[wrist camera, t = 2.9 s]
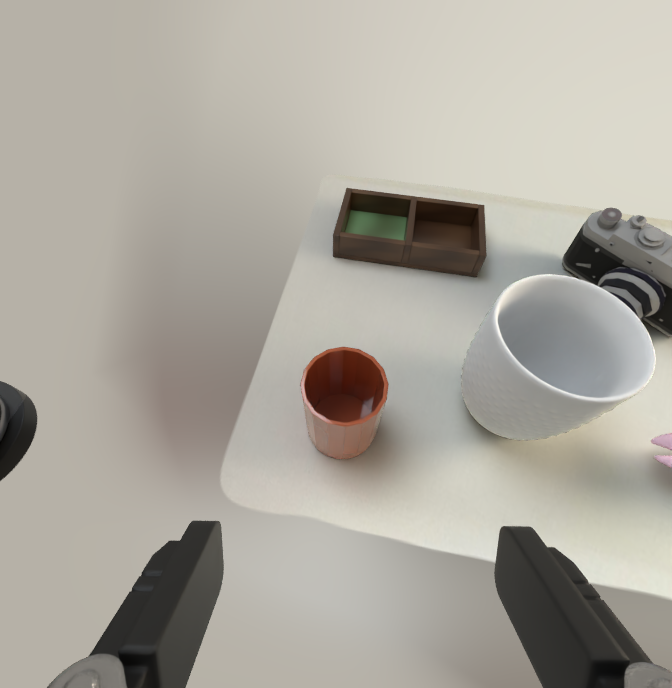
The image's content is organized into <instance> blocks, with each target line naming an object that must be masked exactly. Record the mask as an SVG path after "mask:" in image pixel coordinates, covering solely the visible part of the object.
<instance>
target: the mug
mask: <svg viewBox="0 0 672 688" xmlns="http://www.w3.org/2000/svg"><path fill="white" fill-rule="evenodd" d="M655 361H656V357H655V350H654V346H653V343H652V340H651V338H650V335H649V333H648V331H647V330H646V328H645V326H644V325H643V323H642V322H641V320H640V319H639V318H638V317H637V315H636V314H635V313H634V312H633V311H632V310H631V309H630V308H629V307H628V306H627V305H626V304H625V303H623V302H622V301H621V300H619V299H618V298H617V297H615V296H614V295H612V294H611V293H609V292H607V291H606V290H604V289H602V288H600V287H598V286H596V285H594V284H592V283H589V282H586V281H584V280H581V279H577V278H573V277H569V276H563V275H554V274H544V275H535V276H529V277H526V278H523V279H520V280H518V281H516V282H514V283H512V284H511V285H509V286H508V287H507V288H506V289H505V290H504V291H503V292H502V293H501V294H500V295H499V297H498V298H497V300H496V301H495V303H494V304H493V306H492V308H491V309H490V311H489V312H488V313H487V314H486V317H485V319H484V321H483V322H482V323H481V325H480V327H479V329H478V331H477V332H476V334H475V336H474V339H473V340H472V342H471V344H470V347H469V349H468V350H467V354H466V357H465V359H464V365H463V367H462V375H461V379H462V380H461V386H462V394H463V399H464V401H465V405H466V407H467V408H468V410H469V412H470V414H471V415H472V416H473V417H474V419H475V420H476V421H477V422H478V423H479V424H480V425H482V426H483V427H484V428H486V429H487V430H489V431H491V432H492V433H494V434H497V435H499V436H501V437H506V438H509V439H516V440H533V439H534V440H538V439H541V438H548V437H551V436H557V435H559V434H561V433H567V432H569V431H570V430H572V429H575V428H578V427H580V426H581V425H583V424H587V423H589V422H590V421H591V420H593V419H596V418H598V417H600V416H601V415H602V414H604V413H606V412H608V411H610V410H613V409H614V408H615V407H616V406H618V405H619V404H621V403H623V402H624V401H626V400H628V399H630V398H631V397H633V396H635V395H636V394H637V393H639V392H640V391H641V390H642V389H643V388H644V387H645V386H646V385H647V384H648V382H649V381H650V379H651V378H652V375H653V373H654V369H655Z"/></svg>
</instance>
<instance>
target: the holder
mask: <svg viewBox="0 0 672 688" xmlns="http://www.w3.org/2000/svg"><path fill="white" fill-rule="evenodd" d="M333 257H340V258H347V259H354V260H361V261H368V262H375V263H382V264H389V265H396V266H403V267H410V268H417V269H424V270H431V271H438V272H445V273H452V274H459V275H466V276H473V277H477V275H478V272H479V270H480V268H481V266H482V264H483V262H484V260H485V258H486V236H485V213H484V205H478V204H471V203H463V202H455V201H447V200H439V199H431V198H423V197H415V196H407V195H399V194H391V193H383V192H374V191H366V190H358V189H350V188H347V189H346V192H345V195H344V199H343V203H342V206H341V210H340V213H339V217H338V220H337V224H336V227H335V231H334V234H333Z"/></svg>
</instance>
